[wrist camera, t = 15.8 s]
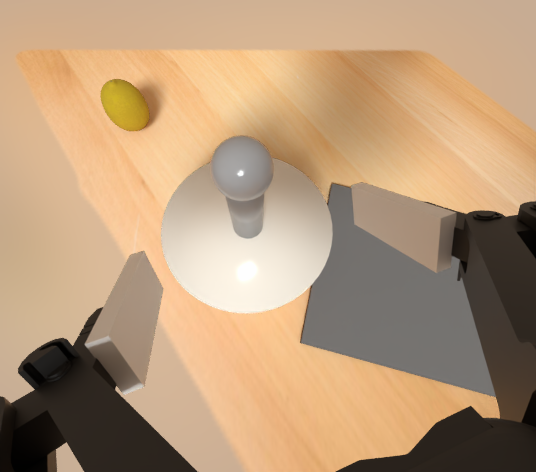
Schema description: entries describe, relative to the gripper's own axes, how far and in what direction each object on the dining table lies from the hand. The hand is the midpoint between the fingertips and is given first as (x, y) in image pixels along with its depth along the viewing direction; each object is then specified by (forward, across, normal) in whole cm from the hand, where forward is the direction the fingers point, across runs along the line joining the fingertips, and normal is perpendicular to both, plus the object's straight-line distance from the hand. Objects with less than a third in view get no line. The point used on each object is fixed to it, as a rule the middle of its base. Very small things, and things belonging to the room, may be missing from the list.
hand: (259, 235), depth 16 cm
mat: (+9, +18, -16) cm, 25 cm away
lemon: (+33, -10, +8) cm, 35 cm away
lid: (+12, 0, -4) cm, 12 cm away
